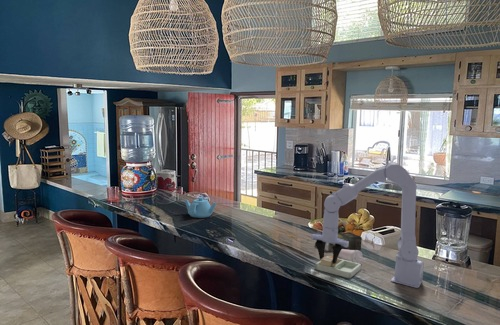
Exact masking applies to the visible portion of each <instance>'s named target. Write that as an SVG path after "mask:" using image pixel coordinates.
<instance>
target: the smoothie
mask: <svg viewBox="0 0 500 325" xmlns="http://www.w3.org/2000/svg"><path fill="white" fill-rule="evenodd" d="M338 258H339V259H343V260H347V261H351V262H355V263H359V264H361V265H362V262H363V261H368V258H364V257H363V252H362V251H361V250H360V249H355V250H346V249H342V250H341V251H340V253H339V255H338Z"/></svg>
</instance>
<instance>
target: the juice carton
mask: <svg viewBox="0 0 500 325" xmlns="http://www.w3.org/2000/svg"><path fill="white" fill-rule="evenodd" d="M337 238H339V239H342V240H345V241H349V246H348V247H347V248H346V247H344V246H343V248H342V249H346V250H361V248H362V240H363V238H362V236H360V235H357V234H355V233H352V232H350V231H349V232H342V233H341V232H340V233H338V236H337ZM334 245H335V244H331V243H327V242H326V244H325V250H324V251H327V252H329V251H332V252H333V246H334ZM314 246H315V247H316V245H315V244H314Z"/></svg>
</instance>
